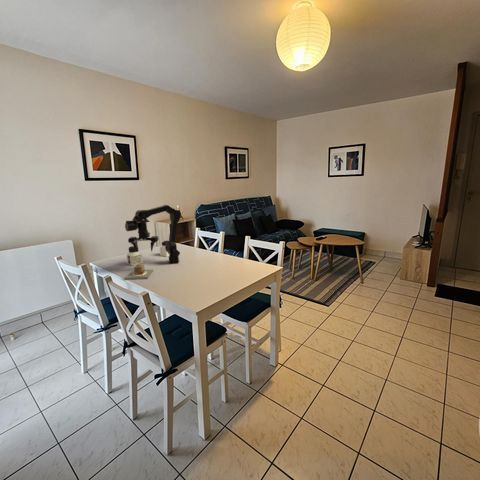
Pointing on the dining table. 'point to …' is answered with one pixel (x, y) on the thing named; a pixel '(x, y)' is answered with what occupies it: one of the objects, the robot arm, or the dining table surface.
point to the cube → (139, 270)
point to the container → (134, 256)
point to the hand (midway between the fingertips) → (144, 251)
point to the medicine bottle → (163, 249)
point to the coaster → (144, 276)
